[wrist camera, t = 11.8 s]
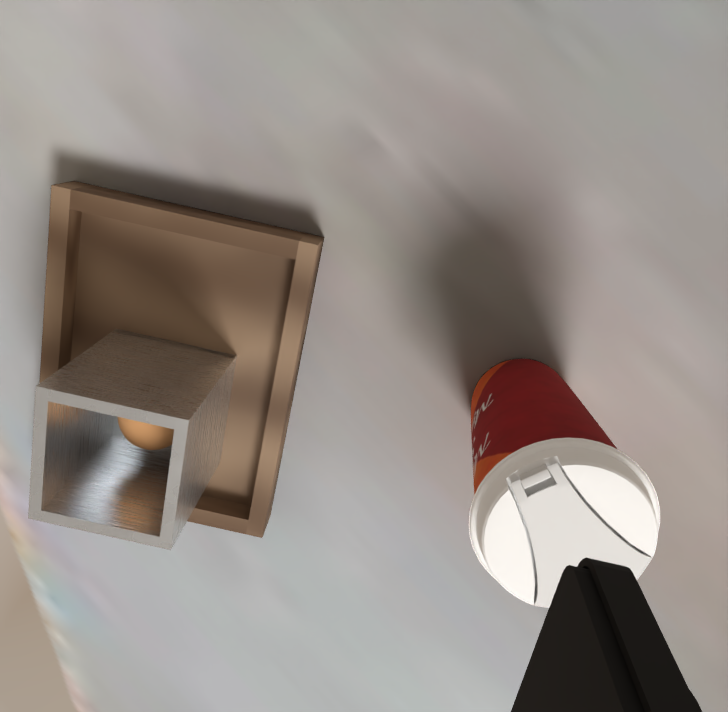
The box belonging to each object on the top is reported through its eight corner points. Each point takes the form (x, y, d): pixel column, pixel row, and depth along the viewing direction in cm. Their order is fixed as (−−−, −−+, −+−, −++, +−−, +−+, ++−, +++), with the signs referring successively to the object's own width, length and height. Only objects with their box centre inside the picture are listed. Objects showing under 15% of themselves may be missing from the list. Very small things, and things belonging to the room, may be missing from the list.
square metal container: (116, 328, 40) (35, 386, 31) (237, 355, 40) (188, 420, 31) (106, 436, 42) (28, 518, 34) (219, 462, 42) (170, 550, 34)
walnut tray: (74, 180, 38) (51, 185, 36) (324, 237, 38) (318, 245, 36) (53, 467, 44) (33, 486, 42) (270, 515, 44) (262, 537, 42)
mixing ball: (137, 364, 40) (108, 390, 36) (202, 379, 40) (179, 406, 36) (131, 422, 41) (102, 453, 37) (194, 437, 41) (171, 469, 37)
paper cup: (429, 377, 40) (436, 504, 27) (552, 316, 39) (623, 420, 26) (489, 483, 42) (524, 650, 29) (609, 430, 41) (702, 580, 28)
